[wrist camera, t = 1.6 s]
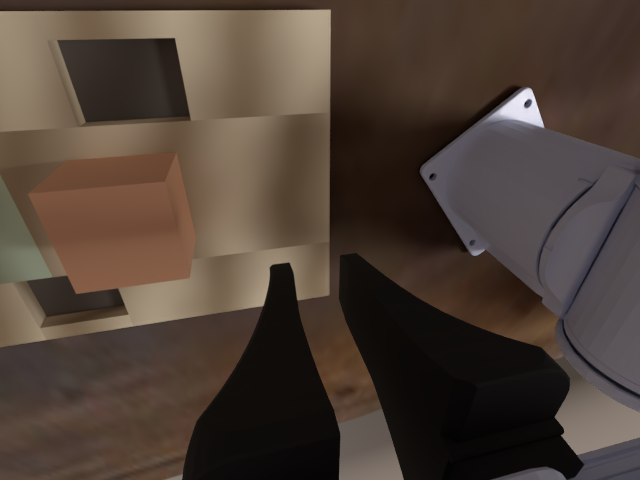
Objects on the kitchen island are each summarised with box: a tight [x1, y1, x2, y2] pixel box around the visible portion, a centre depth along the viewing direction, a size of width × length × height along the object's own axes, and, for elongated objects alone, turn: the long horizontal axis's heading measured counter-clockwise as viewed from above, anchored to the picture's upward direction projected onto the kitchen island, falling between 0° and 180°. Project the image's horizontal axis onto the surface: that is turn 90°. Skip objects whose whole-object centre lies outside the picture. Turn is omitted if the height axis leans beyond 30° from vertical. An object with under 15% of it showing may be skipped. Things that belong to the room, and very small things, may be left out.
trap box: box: [0, 10, 331, 347], centre depth 18 cm, size 22×17×3 cm
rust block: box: [28, 152, 196, 294], centre depth 17 cm, size 5×5×4 cm
